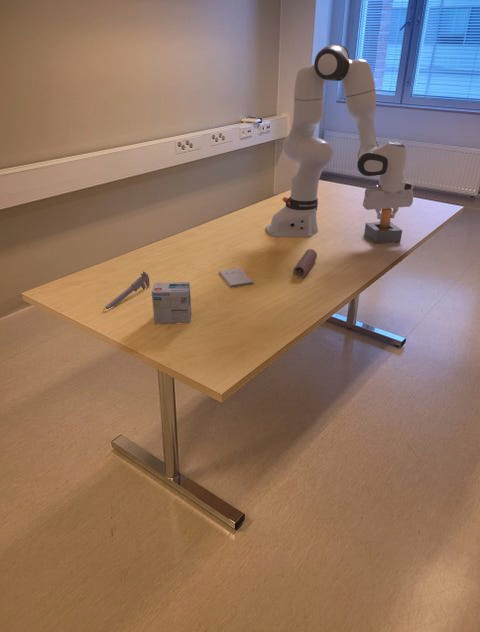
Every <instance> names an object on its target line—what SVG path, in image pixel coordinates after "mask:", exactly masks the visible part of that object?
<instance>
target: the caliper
mask: <svg viewBox="0 0 480 632" xmlns="http://www.w3.org/2000/svg"><path fill="white" fill-rule="evenodd" d="M149 277H150V276H149V275H148V273H147V272H146V271H142V273H140V277H138V278H137V279H135V281H134V282H132V283H131V285H130V286H129V287H128V288H127V289H125V290H124V291H123V292H122V293H120V294H119V295H118V296H117V297H115V298H114V299H113V300H111V301H110V302H109V303H107V305H105V307H104V309H105V308H106V309H109V308H111V307H113V306H115V305H116V304H117V305H118V304H119V303H121V302H122V301H124V300H125V298H127V297H128V296H129V295H130V294H131V293H133V292H137V291H138V290H140V288H143V289H142V290H144V289H145V288H146V289H147V288H148V287H149V286H150V287H151V285H150V284H151V283H150V278H149ZM146 286H148V287H146ZM150 287H149V288H150ZM117 305H116V306H117ZM116 306H115V307H116ZM113 308H114V307H113Z"/></svg>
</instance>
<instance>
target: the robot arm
mask: <svg viewBox="0 0 480 632" xmlns="http://www.w3.org/2000/svg"><path fill="white" fill-rule="evenodd" d="M374 79H375V78H374V75H373V71H372V67H371V66H370V63H369V62H368V61H367V60H366V59H363V58H359V59H357V58H356V59H350V54H349V51H348V49H347V48H346V47H345V46H343V45H341V44H339V43H334V44H333V43H332V44H329V45H328V44H327V45H326V46H324V47H323V48H322V49H320V50H319V51H318V52H317V54H316V55H315V59H314V62H313V64H312V65H305V66H303V67H301V68H300V69H299V70H298V71H297V73H296V78H295V83H294V91H293V93H294V95H293V118H292V119H293V120H292V124H291V128H290V131H289V133H288V135H287V136H286V137H285V138H284V140H283V141H282V153H283V154H284V156H286V157H287V158H288V159H290V160H291V161H293V162H295V163H299V167H298V170H297V173H295V175H293V177H292V178H291V182H290V184H291V185H290V196H289V197H286V196H284V197H282V199H281V200H282V201H283V202H284V203H285V206H283V208H281V209H280V210H278V211H276V212H275V213H274V214H273V216H272V218H271V223H270V224H266V226H265V230H266V231H265V232H266V233H268V234H269V235H270V236H271V237H274V238H310V237H312V236H313V235H315V234H317V233H318V232H319V228H318V222H317V221H318V220H317V211H318V204H319V203H318V202H319V201H318V200H319V199H318V189H319V182H320V177H321V176H322V172H323V171H324V169H325V168H326V167H327V166H328V165H329V164H330V163H331V162H332V159H333V157H334V150H333V146H332V145H331V144H330V143H329V142H328V141H326V140H324V139H322V138H320V137H316V136H315V135H314V134H315V130H316V127H317V125H318V124H320V123H321V122H322V119H323V110H324V109H323V108H324V89H325V83H326V82H327V81H337V82H341V83H342V86H343V90H344V91H343V92H344V98H345V104H346V108H347V111H348V114H349V115H350V116H351V118H353V120H354V122H355V124H356V126H357V127H356V128H357V132H358V139H359V150H358V155H357V162H356V163H357V164H356V165H357V167H356V168H357V170H358V172H359V173H360V174H361V175H363V176H365V177H375V176H379V182H378V184H377V185H369V186H368V187H366V188H365V190H364V196H363V197H364V198H363V202H362V207H363V208H364V209H365V210H369V211H370V210H375V212H376V214H377V215H376V219H378V220H380V219H382V216H383V215H382V214H381V211H382V209H385V208H391V209H392V213H391V219H395V217H396V216H395V215H396V213H397V212H398V210H399V208H407V207H411V206H412V205H413V202H414V190H413V189H414V184H413V183H412V182H410V181H407V180H405V179H404V169H405V166H406V162H407V161H406V160H407V148H406V146H405V145H404V144H403V143H402V142H399V141H395V140H389V141H386V142H385V143H384V144H381V145H379V144H378V142H377V138H376V131H375V125H374V121H375V119H374V117H375V113H376V108H377V91H376V84H375V80H374Z"/></svg>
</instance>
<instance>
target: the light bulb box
mask: <svg viewBox="0 0 480 632" xmlns="http://www.w3.org/2000/svg"><path fill="white" fill-rule="evenodd" d="M190 286H191V285H190V281H181V282H177V281H175V282H154V283H153V286H152V290H151V298H152V299H151V300H152V301H151V302H152V308H153V309H152V310H153V320H154V324H155V323H190V324H191V321H190V320H191V319H192V299H191V287H190Z"/></svg>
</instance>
